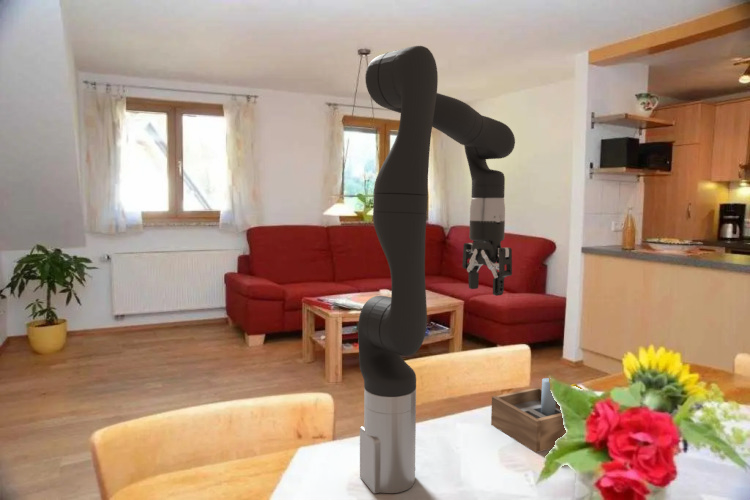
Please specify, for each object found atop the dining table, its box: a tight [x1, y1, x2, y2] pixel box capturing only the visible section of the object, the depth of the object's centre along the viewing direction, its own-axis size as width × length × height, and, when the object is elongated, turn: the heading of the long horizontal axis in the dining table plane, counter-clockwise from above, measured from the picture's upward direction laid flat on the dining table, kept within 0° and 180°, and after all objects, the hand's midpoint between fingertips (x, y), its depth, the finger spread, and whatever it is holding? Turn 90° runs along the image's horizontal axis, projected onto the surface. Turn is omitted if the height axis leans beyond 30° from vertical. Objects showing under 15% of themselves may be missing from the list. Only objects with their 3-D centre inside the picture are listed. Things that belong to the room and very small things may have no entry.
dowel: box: [541, 377, 556, 416], centre depth 110 cm, size 3×3×11 cm
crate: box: [490, 386, 566, 454], centre depth 109 cm, size 14×14×6 cm
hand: (485, 291), depth 111 cm, fingers open, 8 cm apart
